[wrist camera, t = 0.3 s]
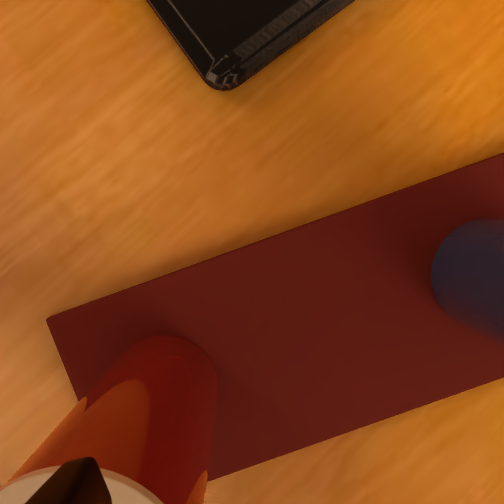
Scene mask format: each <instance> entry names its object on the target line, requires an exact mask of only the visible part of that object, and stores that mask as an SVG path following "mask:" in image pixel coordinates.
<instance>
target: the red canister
mask: <svg viewBox="0 0 504 504" xmlns="http://www.w3.org/2000/svg"><path fill="white" fill-rule="evenodd" d="M219 396H220V382H219V377H218V373H217V370H216V368H215V366H214V364H213V362H212V360H211V359H210V358H209V356H208V355H207V354H206V353H205V352H204V351H203V350H202V349H201V348H200V347H199V346H197V345H196V344H194V343H193V342H191V341H189V340H187V339H184V338H181V337H178V336H173V335H155V336H150V337H146V338H144V339H141V340H139V341H137V342H135V343H134V344H132V345H131V346H129V347H128V348H127V349H126V350H125V351H124V352H123V353H122V354H121V355H120V356H119V357H118V358H117V360H116V361H115V362H114V363H113V364H112V365H111V366H110V367H109V369H108V370H107V371H106V372H105V373H104V374H103V375H102V376H101V378H100V379H99V380H98V381H97V382H96V383H95V384H94V385H93V387H92V388H91V389H90V390H89V391H88V392H87V393H86V394H85V396H84V397H83V398H82V399H81V400H80V401H79V402H78V403H77V405H76V406H75V407H74V408H73V409H72V410H71V411H70V412H69V413H68V415H67V416H66V417H65V418H64V419H63V420H62V421H61V422H60V424H59V425H58V426H57V427H56V428H55V429H54V430H53V431H52V433H51V434H50V435H49V436H48V437H47V438H46V439H45V440H44V442H43V443H42V444H41V445H40V446H39V447H38V448H37V449H36V451H35V452H34V453H33V454H32V455H31V456H30V457H29V458H28V459H27V461H26V462H25V463H24V464H23V465H22V466H21V467H20V468H19V470H18V471H17V472H16V473H15V474H14V475H13V476H12V477H11V479H10V480H9V481H8V482H7V483H6V484H5V485H3V486H2V487H1V488H0V504H25V503H26V502H27V501H28V500H29V498H30V497H31V496H32V495H33V494H34V493H35V492H36V491H37V490H38V489H39V488H40V487H41V486H42V485H43V484H44V483H45V482H46V481H47V480H48V479H49V478H50V477H51V476H52V475H53V474H54V473H55V472H56V471H57V470H58V469H59V467H60V466H61V465H63V464H64V463H65V462H67V461H70V460H74V459H79V458H83V457H88V456H90V457H93V458H94V459H95V460H96V462H97V463H98V466H99V468H100V470H101V473H102V475H103V478H104V480H105V483H106V485H107V487H108V490H109V492H110V495H111V499H112V504H203V503H204V496H205V489H206V483H207V476H208V470H209V463H210V456H211V450H212V443H213V436H214V430H215V423H216V416H217V410H218V403H219Z"/></svg>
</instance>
